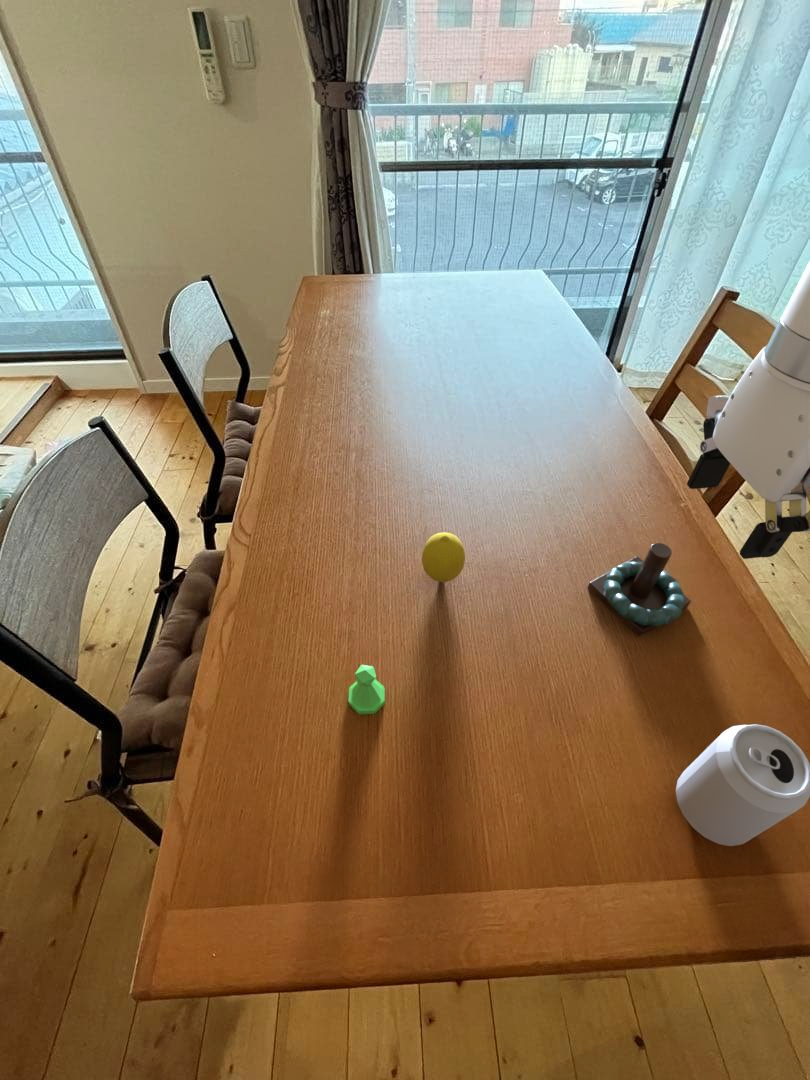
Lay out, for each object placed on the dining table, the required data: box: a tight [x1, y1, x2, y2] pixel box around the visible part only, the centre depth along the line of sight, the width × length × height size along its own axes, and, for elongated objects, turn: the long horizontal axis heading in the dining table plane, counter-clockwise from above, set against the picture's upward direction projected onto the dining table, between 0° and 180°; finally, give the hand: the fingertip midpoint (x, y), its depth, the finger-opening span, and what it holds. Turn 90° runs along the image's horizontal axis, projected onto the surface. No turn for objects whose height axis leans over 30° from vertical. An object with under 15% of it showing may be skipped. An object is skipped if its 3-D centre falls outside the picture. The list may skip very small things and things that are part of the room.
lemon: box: [421, 531, 466, 583], centre depth 71 cm, size 6×6×8 cm
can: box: [675, 723, 810, 847], centre depth 50 cm, size 8×8×12 cm
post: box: [587, 542, 692, 638], centre depth 69 cm, size 9×9×9 cm
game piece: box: [348, 664, 386, 715], centre depth 60 cm, size 4×4×6 cm
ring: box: [604, 561, 686, 627], centre depth 70 cm, size 10×10×2 cm
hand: (727, 518), depth 54 cm, fingers open, 9 cm apart
